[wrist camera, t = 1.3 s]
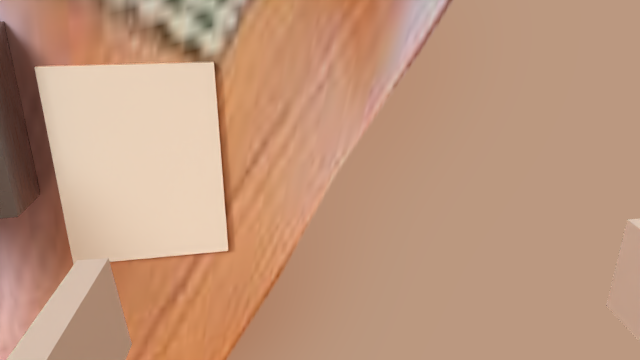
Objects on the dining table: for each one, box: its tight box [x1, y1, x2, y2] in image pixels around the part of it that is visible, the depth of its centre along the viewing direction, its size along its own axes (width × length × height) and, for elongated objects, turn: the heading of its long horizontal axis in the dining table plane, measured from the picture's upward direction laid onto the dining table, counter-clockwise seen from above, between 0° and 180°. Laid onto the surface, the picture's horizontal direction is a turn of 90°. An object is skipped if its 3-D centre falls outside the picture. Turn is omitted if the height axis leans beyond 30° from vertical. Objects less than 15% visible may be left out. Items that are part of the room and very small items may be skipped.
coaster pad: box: [34, 61, 228, 265], centre depth 34 cm, size 14×11×1 cm
